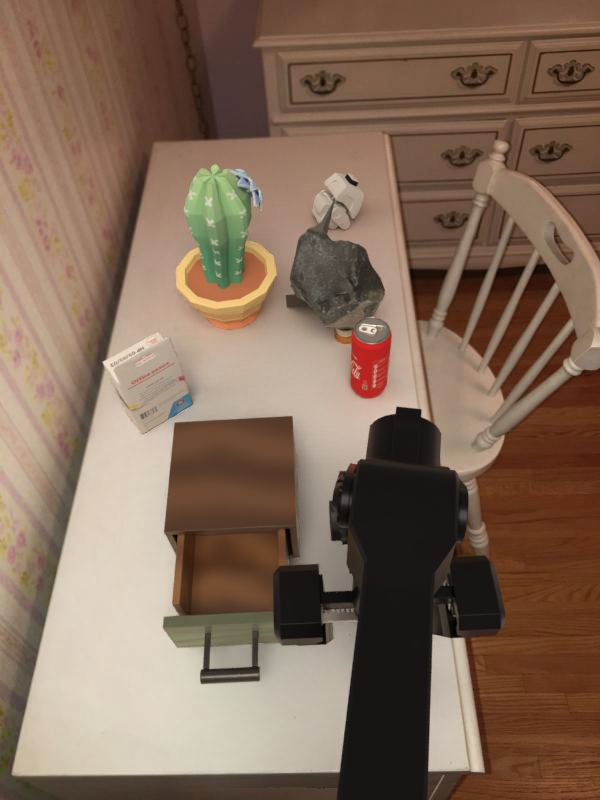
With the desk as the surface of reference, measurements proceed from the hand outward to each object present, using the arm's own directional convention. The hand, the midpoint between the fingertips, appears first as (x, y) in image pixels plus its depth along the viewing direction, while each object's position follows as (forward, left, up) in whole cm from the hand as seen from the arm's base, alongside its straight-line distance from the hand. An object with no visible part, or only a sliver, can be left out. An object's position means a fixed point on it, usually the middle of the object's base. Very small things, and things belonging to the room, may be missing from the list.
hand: (380, 629), depth 61 cm
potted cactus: (+55, +17, -12) cm, 59 cm away
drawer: (+7, +15, -11) cm, 20 cm away
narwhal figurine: (+50, +1, -12) cm, 51 cm away
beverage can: (+38, -3, -12) cm, 40 cm away
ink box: (+36, +27, -12) cm, 46 cm away
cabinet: (+20, +15, -12) cm, 28 cm away
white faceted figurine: (+75, -1, -12) cm, 76 cm away
